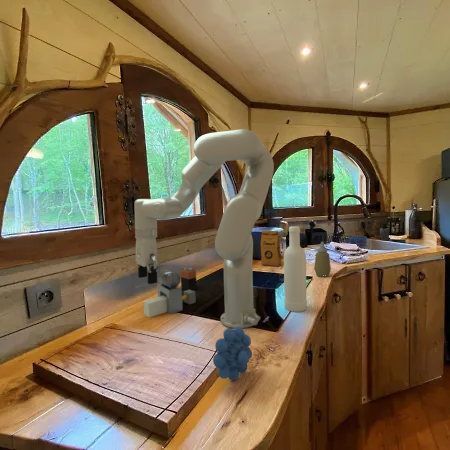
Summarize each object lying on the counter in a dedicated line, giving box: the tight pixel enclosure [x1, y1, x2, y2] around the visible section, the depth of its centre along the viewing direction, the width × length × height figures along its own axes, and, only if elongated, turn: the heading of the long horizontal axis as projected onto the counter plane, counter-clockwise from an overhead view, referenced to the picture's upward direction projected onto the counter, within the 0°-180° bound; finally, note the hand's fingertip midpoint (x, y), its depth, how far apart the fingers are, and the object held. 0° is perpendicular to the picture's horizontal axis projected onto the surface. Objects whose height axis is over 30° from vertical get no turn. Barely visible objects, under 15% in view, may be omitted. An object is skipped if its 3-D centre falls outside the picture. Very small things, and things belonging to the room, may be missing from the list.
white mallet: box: [143, 290, 197, 318], centre depth 101 cm, size 4×20×5 cm, turn 132°
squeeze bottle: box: [313, 241, 332, 278], centre depth 138 cm, size 8×8×18 cm
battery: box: [180, 266, 198, 291], centre depth 124 cm, size 4×7×10 cm, turn 45°
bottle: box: [283, 225, 308, 313], centre depth 96 cm, size 8×8×30 cm
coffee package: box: [260, 230, 282, 267], centre depth 167 cm, size 10×12×22 cm
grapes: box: [212, 327, 253, 381], centre depth 57 cm, size 12×7×12 cm, turn 136°
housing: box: [156, 268, 183, 315], centre depth 101 cm, size 11×6×14 cm, turn 37°
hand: (147, 280), depth 96 cm, fingers open, 9 cm apart
